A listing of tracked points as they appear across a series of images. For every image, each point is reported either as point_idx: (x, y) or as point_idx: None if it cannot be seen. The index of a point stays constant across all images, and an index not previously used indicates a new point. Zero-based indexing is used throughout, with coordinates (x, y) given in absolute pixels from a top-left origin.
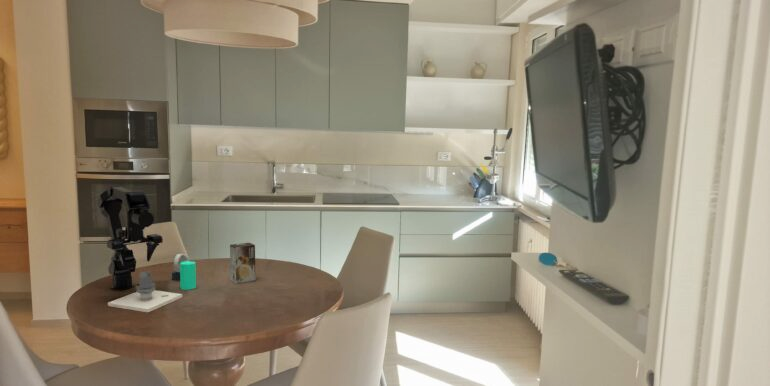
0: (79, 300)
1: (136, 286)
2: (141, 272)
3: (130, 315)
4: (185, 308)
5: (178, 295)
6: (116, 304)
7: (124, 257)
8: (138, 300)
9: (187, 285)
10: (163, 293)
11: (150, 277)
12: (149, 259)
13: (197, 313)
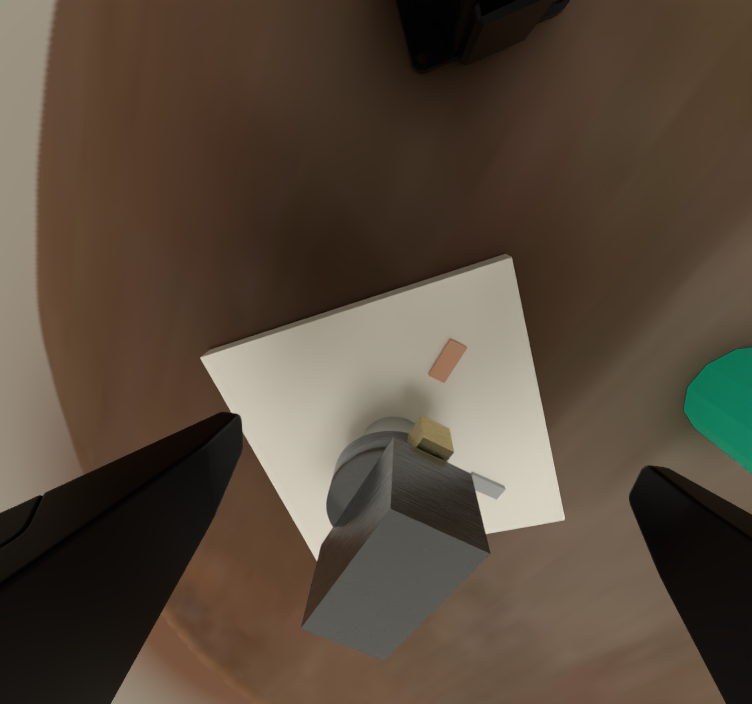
0: (78, 77)
1: (329, 489)
2: (396, 530)
3: (252, 527)
4: (453, 607)
5: (536, 521)
6: (232, 412)
7: (133, 643)
8: (345, 443)
9: (716, 444)
10: (514, 441)
11: (376, 650)
12: (659, 540)
13: (444, 660)
